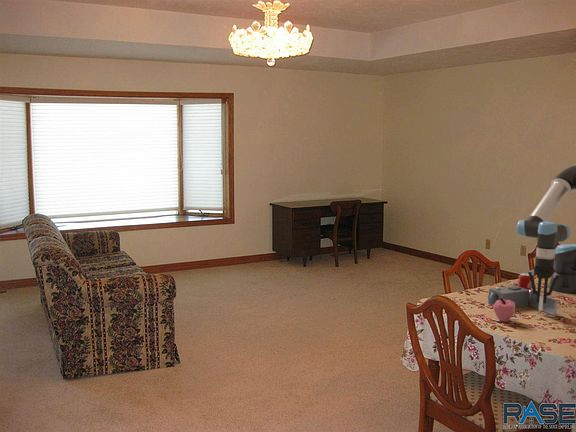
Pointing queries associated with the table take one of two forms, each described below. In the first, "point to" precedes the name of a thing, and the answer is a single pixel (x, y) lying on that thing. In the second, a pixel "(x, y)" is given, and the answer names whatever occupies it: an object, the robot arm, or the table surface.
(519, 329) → the table surface
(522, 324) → the table surface
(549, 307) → the side door
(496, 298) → the grey knobbed block
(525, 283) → the beverage can
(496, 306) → the apple
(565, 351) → the table surface
